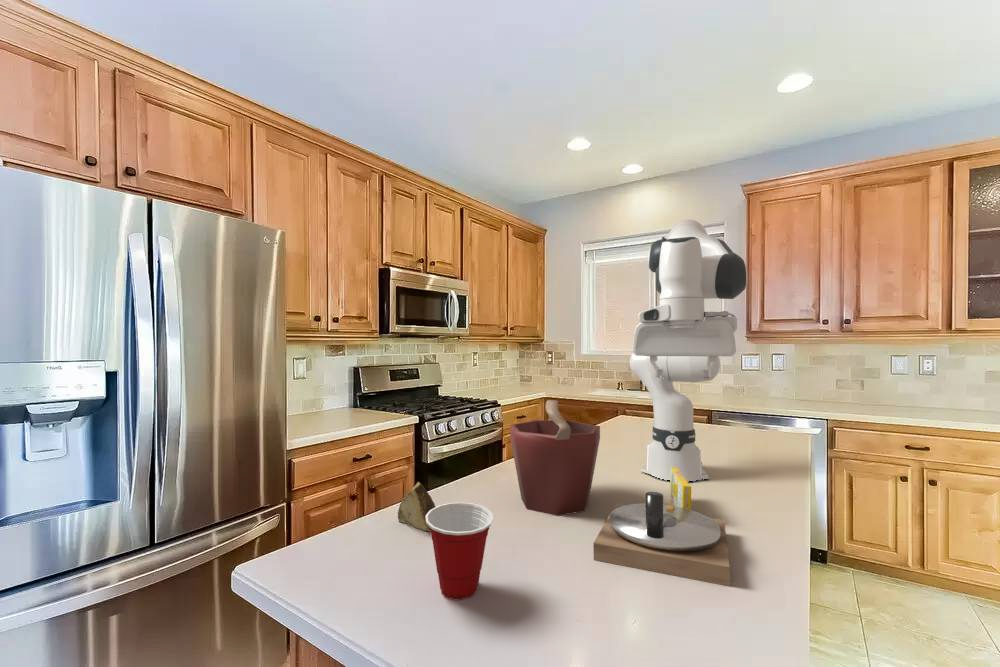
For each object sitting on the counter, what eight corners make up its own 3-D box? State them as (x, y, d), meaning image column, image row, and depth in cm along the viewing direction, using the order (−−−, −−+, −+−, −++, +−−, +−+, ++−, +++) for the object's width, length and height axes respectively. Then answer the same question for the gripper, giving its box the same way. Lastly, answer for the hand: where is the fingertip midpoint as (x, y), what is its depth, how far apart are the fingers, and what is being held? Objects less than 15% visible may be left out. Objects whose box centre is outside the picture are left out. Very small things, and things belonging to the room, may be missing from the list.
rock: (383, 510, 100) (394, 519, 92) (405, 475, 104) (418, 481, 95) (422, 534, 103) (437, 545, 94) (443, 499, 107) (458, 507, 98)
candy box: (692, 524, 99) (691, 486, 99) (681, 524, 99) (681, 485, 99) (678, 500, 115) (678, 466, 115) (669, 499, 115) (669, 466, 115)
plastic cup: (435, 617, 65) (435, 532, 65) (417, 581, 75) (417, 507, 75) (504, 600, 69) (504, 520, 69) (479, 568, 79) (479, 498, 79)
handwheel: (624, 503, 101) (624, 465, 102) (724, 520, 91) (724, 478, 92) (596, 535, 84) (595, 489, 84) (715, 561, 74) (714, 508, 74)
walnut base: (615, 518, 102) (615, 504, 102) (724, 534, 93) (724, 519, 93) (593, 559, 82) (593, 543, 82) (729, 586, 73) (729, 567, 73)
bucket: (591, 526, 97) (590, 409, 98) (493, 514, 104) (493, 405, 105) (603, 492, 120) (602, 397, 121) (522, 484, 128) (522, 394, 128)
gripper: (735, 311, 95) (737, 377, 95) (634, 314, 104) (636, 375, 104) (737, 310, 89) (739, 380, 89) (630, 313, 98) (631, 378, 98)
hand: (682, 377), depth 97 cm, fingers open, 8 cm apart
